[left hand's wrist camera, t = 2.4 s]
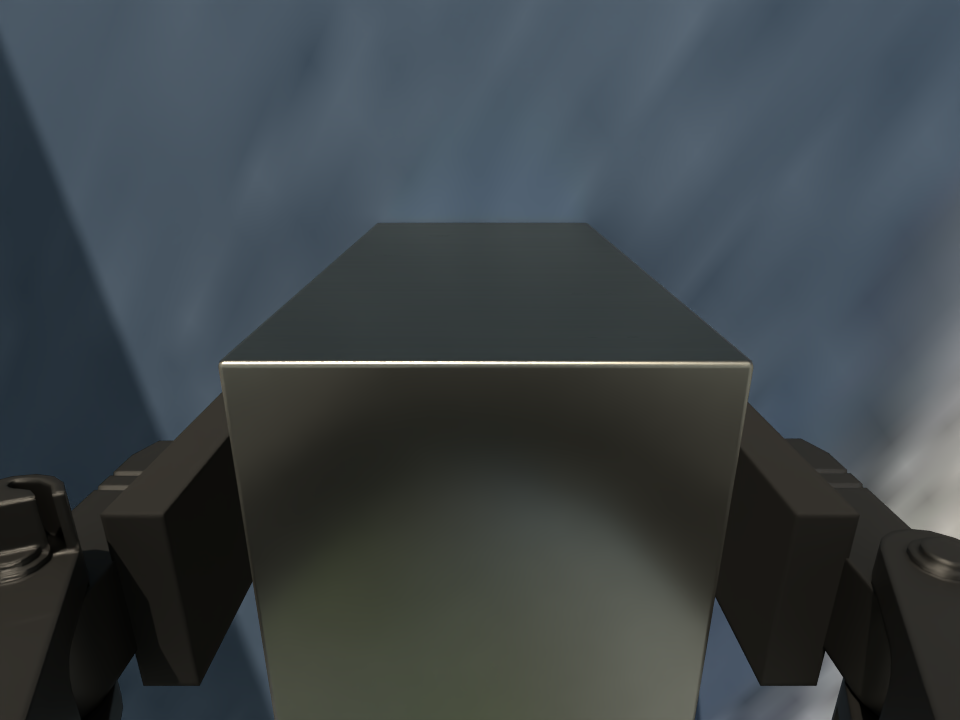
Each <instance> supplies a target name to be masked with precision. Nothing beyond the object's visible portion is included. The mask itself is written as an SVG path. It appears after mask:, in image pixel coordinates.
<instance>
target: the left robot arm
mask: <svg viewBox="0 0 960 720" xmlns="http://www.w3.org/2000/svg"><path fill="white" fill-rule="evenodd" d="M252 581H253V580H252V574H251V567H250V561H249V555H248V549H247V542H246V536H245V530H244V524H243V517H242V511H241V505H240V499H239V492H238V486H237V480H236V473H235V467H234V461H233V455H232V448H231V442H230V436H229V430H228V423H227V417H226V411H225V404H224V398H223V392H222V393H221V394H220V395H219V396H218V397H217V398H216V399H215V400H214V401H213V402H212V403H211V404H210V405H209V406H208V407H207V408H206V409H205V410H204V411H203V412H202V413H201V414H200V415H199V416H198V417H197V418H196V419H195V420H194V421H193V422H192V423H191V424H190V425H189V426H188V427H187V428H186V429H185V430H184V431H183V432H182V433H181V434H180V435H179V436H178V437H177V438H176V439H175V440H174V441H158V442H156V443H154V444H152V445H150V446H149V447H147V448H145V449H143V450H141V451H139V452H137V453H135V454H133V455H132V456H131V457H130V458H128V459H127V460H126V461H125V462H124V463H123V464H122V465H121V466H120V467H119V468H118V469H117V470H115V471H114V475H113V476H109V477H108V478H107V479H106V480H105V481H104V482H102V483H101V484H100V485H99V486H98V490H94V491H93V492H92V493H91V494H89V495H88V496H87V497H86V498H85V499H84V500H83V501H82V502H81V503H80V504H79V505H78V506H76V507H75V508H74V509H73V510H72V511H71V508H70V504H69V501H68V497H67V494H66V490H65V486H64V483H63V482H62V481H60V480H59V479H57V478H56V477H54V476H47V475H39V474H33V475H21V476H12V477H8V478H4V479H0V720H121V716H122V710H123V704H122V696H121V691H120V687H119V684H118V678H119V677H120V675H121V674H122V672H123V671H124V669H125V668H126V666H127V665H128V663H129V662H130V660H131V659H132V657H133V656H134V654H136V658H137V662H138V666H139V670H140V674H141V678H142V682H143V686H200V684H201V682H202V680H203V678H204V676H205V674H206V672H207V670H208V668H209V666H210V664H211V662H212V660H213V658H214V656H215V654H216V652H217V650H218V648H219V646H220V644H221V642H222V640H223V638H224V636H225V635H226V633H227V631H228V629H229V627H230V625H231V623H232V621H233V619H234V617H235V615H236V613H237V611H238V609H239V607H240V605H241V603H242V601H243V599H244V597H245V595H246V593H247V591H248V589H249V587H250V585H251V583H252ZM715 597H716V599H717V601H718V603H719V605H720V607H721V609H722V611H723V613H724V615H725V617H726V619H727V621H728V623H729V625H730V627H731V629H732V631H733V633H734V635H735V636H736V638H737V640H738V642H739V644H740V646H741V648H742V650H743V652H744V654H745V656H746V658H747V660H748V662H749V664H750V666H751V668H752V670H753V672H754V674H755V676H756V678H757V680H758V682H759V684H760V686H817V682H818V678H819V674H820V670H821V666H822V662H823V658H824V654H825V651H826V652H827V654H828V655H829V657H830V658H831V660H832V661H833V663H834V664H835V666H836V667H837V669H838V670H839V672H840V673H841V675H842V676H843V680H842V684H841V687H840V691H839V695H838V698H837V702H836V706H835V709H834V713H833V717H832V720H960V540H958V539H956V538H953V537H950V536H946V535H942V534H939V533H935V532H932V531H925V530H916V529H911V528H910V527H909V526H908V525H906V524H905V523H904V522H903V521H902V520H901V519H900V518H899V517H898V516H897V515H896V514H894V513H893V512H892V511H891V510H890V509H889V508H888V507H887V506H886V505H885V504H884V503H882V502H881V501H880V500H879V499H878V498H877V497H876V496H875V495H874V494H873V493H872V492H870V491H869V490H868V489H867V488H863V487H862V483H861V482H860V481H858V480H857V479H856V478H855V477H854V476H853V475H852V474H851V473H847V470H846V469H845V468H844V467H843V466H842V465H841V464H840V463H839V462H838V461H837V460H836V459H834V458H833V457H832V456H831V455H830V454H829V453H827V452H826V451H824V450H822V449H820V448H818V447H816V446H814V445H812V444H810V443H808V442H806V441H805V440H803V439H784V438H783V437H782V436H781V435H780V434H779V433H778V432H777V431H776V430H775V429H774V428H773V427H772V426H771V425H770V424H769V423H768V422H767V421H766V420H765V419H764V418H763V417H762V416H761V415H760V414H759V413H758V412H757V411H756V410H755V409H754V408H753V407H752V406H751V405H750V404H749V403H748V402H747V408H746V414H745V420H744V426H743V432H742V438H741V444H740V450H739V456H738V462H737V468H736V474H735V480H734V486H733V492H732V498H731V504H730V510H729V516H728V522H727V528H726V534H725V540H724V546H723V552H722V558H721V564H720V570H719V576H718V582H717V588H716V594H715Z"/></svg>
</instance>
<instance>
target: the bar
mask: <svg viewBox="0 0 960 720" xmlns="http://www.w3.org/2000/svg"><path fill="white" fill-rule="evenodd" d="M752 372H753V363H752V361H751V360H750V359H749V358H748V357H746V356H745V355H744V354H743V353H742V352H740V351H739V350H738V349H737V348H736V347H734V346H733V345H732V344H731V343H730V342H728V341H727V340H726V339H725V338H724V337H722V336H721V335H720V334H719V333H718V332H717V331H715V330H714V329H713V328H712V327H711V326H709V325H708V324H707V323H706V322H705V321H703V320H702V319H701V318H700V317H699V316H697V315H696V314H695V313H694V312H693V311H691V310H690V309H689V308H688V307H687V306H685V305H684V304H683V303H682V302H681V301H679V300H678V299H677V298H676V297H675V296H673V295H672V294H671V293H670V292H669V291H668V290H666V289H665V288H664V287H663V286H662V285H660V284H659V283H658V282H657V281H656V280H654V279H653V278H652V277H651V276H650V275H648V274H647V273H646V272H645V271H644V270H642V269H641V268H640V267H639V266H638V265H636V264H635V263H634V262H633V261H632V260H630V259H629V258H628V257H627V256H626V255H624V254H623V253H622V252H621V251H620V250H618V249H617V248H616V247H615V246H614V245H613V244H611V243H610V242H609V241H608V240H607V239H605V238H604V237H603V236H602V235H601V234H599V233H598V232H597V231H596V230H595V229H593V228H592V227H591V226H590V225H589V224H587V223H378V224H376V225H375V226H374V227H373V228H372V229H370V230H369V231H368V232H367V233H366V234H365V235H364V236H362V237H361V238H360V239H359V240H358V241H357V242H356V243H354V244H353V245H352V246H351V247H350V248H349V249H348V250H346V251H345V252H344V253H343V254H342V255H341V256H340V257H338V258H337V259H336V260H335V261H334V262H333V263H332V264H330V265H329V266H328V267H327V268H326V269H325V270H324V271H322V272H321V273H320V274H319V275H318V276H317V277H316V278H314V279H313V280H312V281H311V282H310V283H309V284H307V285H306V286H305V287H304V288H303V289H302V290H301V291H299V292H298V293H297V294H296V295H295V296H294V297H293V298H291V299H290V300H289V301H288V302H287V303H286V304H285V305H283V306H282V307H281V308H280V309H279V310H278V311H277V312H275V313H274V314H273V315H272V316H271V317H270V318H269V319H267V320H266V321H265V322H264V323H263V324H262V325H261V326H259V327H258V328H257V329H256V330H255V331H254V332H253V333H251V334H250V335H249V336H248V337H247V338H246V339H245V340H243V341H242V342H241V343H240V344H239V345H238V346H237V347H235V348H234V349H233V350H232V351H231V352H230V353H229V354H227V355H226V356H225V357H224V358H223V359H222V360H221V361H220V363H219V373H220V379H221V386H222V392H223V398H224V404H225V411H226V417H227V423H228V430H229V436H230V442H231V448H232V455H233V461H234V467H235V473H236V480H237V486H238V492H239V499H240V505H241V511H242V517H243V524H244V530H245V536H246V542H247V549H248V555H249V561H250V567H251V574H252V580H253V586H254V593H255V599H256V605H257V611H258V618H259V624H260V630H261V636H262V643H263V649H264V655H265V661H266V668H267V674H268V680H269V687H270V693H271V699H272V705H273V712H274V718H275V720H695V714H696V708H697V702H698V696H699V690H700V684H701V678H702V672H703V666H704V660H705V654H706V648H707V642H708V636H709V630H710V624H711V618H712V612H713V606H714V600H715V594H716V588H717V582H718V576H719V570H720V564H721V558H722V552H723V546H724V540H725V534H726V528H727V522H728V516H729V510H730V504H731V498H732V492H733V486H734V480H735V474H736V468H737V462H738V456H739V450H740V444H741V438H742V432H743V426H744V420H745V414H746V408H747V402H748V396H749V390H750V384H751V378H752Z"/></svg>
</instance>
